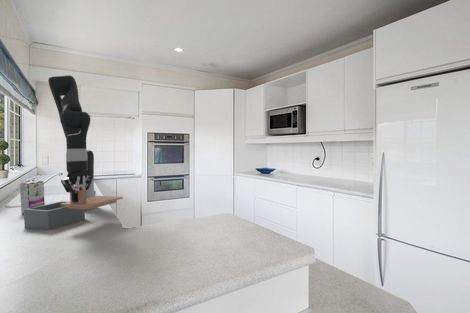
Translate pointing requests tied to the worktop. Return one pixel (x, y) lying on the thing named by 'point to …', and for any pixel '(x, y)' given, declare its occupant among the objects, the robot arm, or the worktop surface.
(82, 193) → the lid
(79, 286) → the worktop surface
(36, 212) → the tub
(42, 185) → the candy bar box
